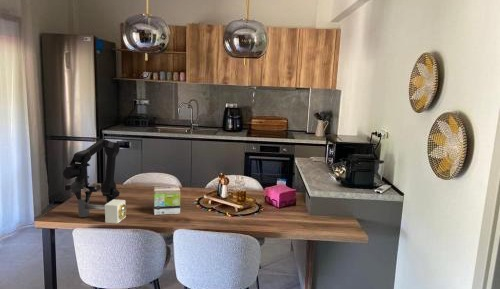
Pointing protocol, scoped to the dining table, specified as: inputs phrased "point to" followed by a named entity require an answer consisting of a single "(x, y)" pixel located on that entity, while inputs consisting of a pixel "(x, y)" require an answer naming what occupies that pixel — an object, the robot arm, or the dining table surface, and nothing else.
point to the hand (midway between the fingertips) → (83, 202)
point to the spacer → (121, 211)
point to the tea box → (166, 200)
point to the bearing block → (113, 211)
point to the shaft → (88, 207)
